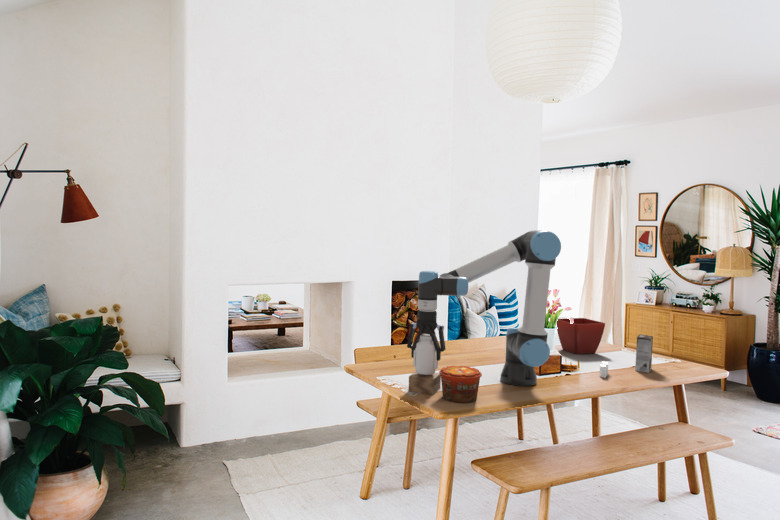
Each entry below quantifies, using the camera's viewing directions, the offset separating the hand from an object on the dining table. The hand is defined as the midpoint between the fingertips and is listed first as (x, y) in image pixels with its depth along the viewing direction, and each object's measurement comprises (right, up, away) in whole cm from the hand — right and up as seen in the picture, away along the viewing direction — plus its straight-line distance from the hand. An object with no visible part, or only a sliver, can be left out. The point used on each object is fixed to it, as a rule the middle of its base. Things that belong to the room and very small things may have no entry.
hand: (425, 367), depth 221 cm
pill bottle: (0, -2, 0) cm, 2 cm away
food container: (+12, -10, -9) cm, 18 cm away
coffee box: (+107, -10, +45) cm, 116 cm away
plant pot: (+89, -8, +83) cm, 122 cm away
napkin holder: (+83, -11, +33) cm, 90 cm away
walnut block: (0, -9, 0) cm, 9 cm away
